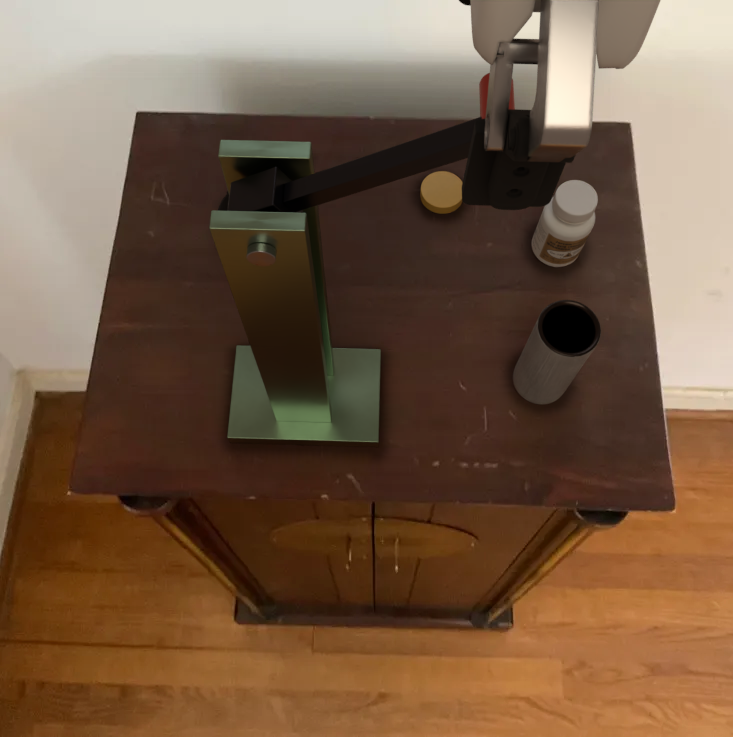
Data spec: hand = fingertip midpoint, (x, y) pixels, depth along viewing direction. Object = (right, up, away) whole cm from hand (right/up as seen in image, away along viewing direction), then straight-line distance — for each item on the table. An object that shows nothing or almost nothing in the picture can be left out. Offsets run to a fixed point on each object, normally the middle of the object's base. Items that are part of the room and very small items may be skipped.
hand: (499, 94), depth 30 cm
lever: (-5, -2, +6) cm, 8 cm away
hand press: (-10, -13, +34) cm, 38 cm away
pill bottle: (+12, 0, +39) cm, 41 cm away
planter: (+9, -12, +34) cm, 37 cm away
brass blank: (+2, +5, +41) cm, 41 cm away
